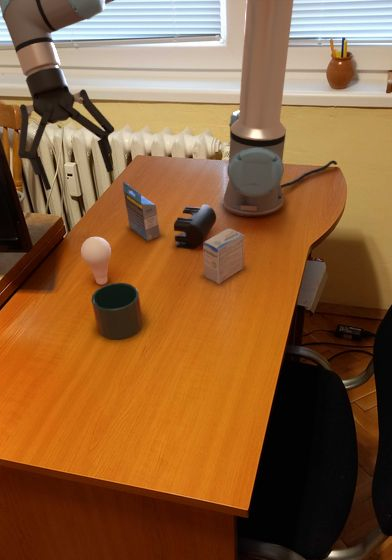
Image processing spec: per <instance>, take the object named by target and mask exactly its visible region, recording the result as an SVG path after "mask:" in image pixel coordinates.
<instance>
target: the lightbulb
mask: <svg viewBox="0 0 392 560" xmlns="http://www.w3.org/2000/svg"><path fill="white" fill-rule="evenodd" d="M80 256H81V258H82V260H83V261H84V262H85V263H86V264H87V265H88V267H89V268H90V270H91V272H92V275H93V276H94V279H95V282H96V284H97V285H100V286H105V285H106V284H107V282H109V281H108V280H109V279H108V271H109V270H108V265H109V262H110V259H111V256H112V248H111V245H110V243H109V242H108V241H107V240H106V239H105V238H103V237H100V236H91V237H88V238H87V239H85V240H84V241H83V243H82V245H81V248H80Z"/></svg>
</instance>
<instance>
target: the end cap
mask: <svg viewBox="0 0 392 560" xmlns="http://www.w3.org/2000/svg"><path fill="white" fill-rule="evenodd" d="M182 214H187V215H191V216H190V217H189V216H188V217H181V216H179V217H177V218H176V220H175V221H174V223H173V231H174V232H182V234H180V233H179V234H174V241H175V242H176V244H175V246H176V248H178V249H185V250H196V249H197V248H199V247H200V246H201V245H203V243H204V242H205V241H206V238H207V236H208V235H209V233H210V232H211V230H212V229H213V227H214V225H215V224H216V222H217V214H216V212H215V210H214V209H213V208H212V207H211V206H210V205H208V204H205V203H203V204H202V205H201V207H196V206H185V207H184V208H183V210H182Z"/></svg>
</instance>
